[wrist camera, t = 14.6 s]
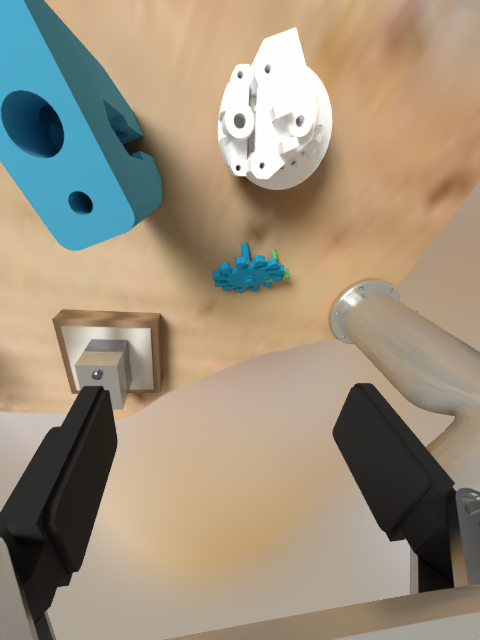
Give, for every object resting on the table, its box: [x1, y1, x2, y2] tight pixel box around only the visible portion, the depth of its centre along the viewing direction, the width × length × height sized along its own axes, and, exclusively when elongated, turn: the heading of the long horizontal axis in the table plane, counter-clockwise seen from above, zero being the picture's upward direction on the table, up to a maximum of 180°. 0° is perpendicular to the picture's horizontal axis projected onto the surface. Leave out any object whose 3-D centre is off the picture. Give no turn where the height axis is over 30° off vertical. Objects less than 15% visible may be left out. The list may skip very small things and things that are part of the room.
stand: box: [52, 310, 162, 394], centre depth 41 cm, size 14×14×3 cm
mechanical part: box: [218, 27, 332, 190], centre depth 26 cm, size 11×12×12 cm
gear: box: [212, 243, 290, 292], centre depth 36 cm, size 11×6×10 cm
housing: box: [74, 339, 132, 409], centre depth 37 cm, size 5×8×6 cm, turn 173°
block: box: [0, 0, 162, 251], centre depth 21 cm, size 12×5×20 cm, turn 19°
